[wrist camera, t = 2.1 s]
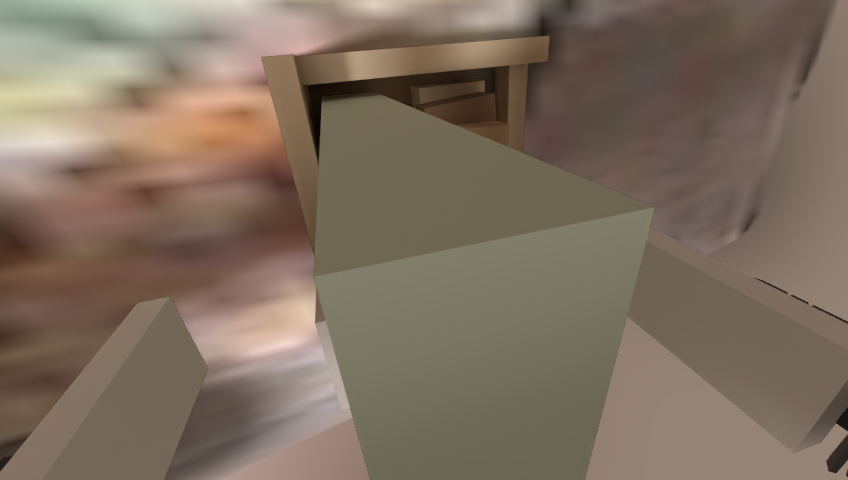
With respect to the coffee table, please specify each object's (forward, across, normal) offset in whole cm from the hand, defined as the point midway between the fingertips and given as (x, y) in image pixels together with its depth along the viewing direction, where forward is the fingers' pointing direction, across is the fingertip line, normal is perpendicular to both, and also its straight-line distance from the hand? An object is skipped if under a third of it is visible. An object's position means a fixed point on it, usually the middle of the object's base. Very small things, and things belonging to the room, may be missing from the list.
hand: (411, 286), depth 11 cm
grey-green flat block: (+14, 0, 0) cm, 14 cm away
